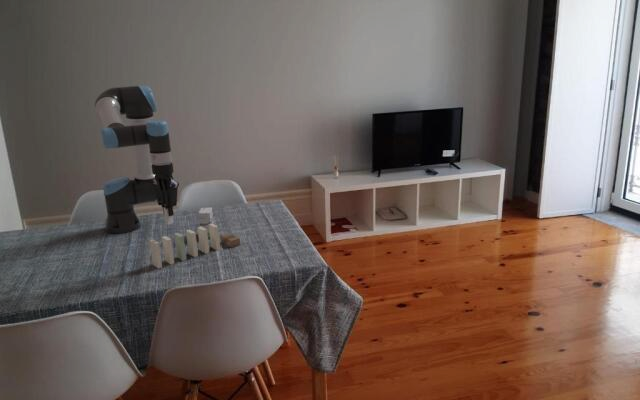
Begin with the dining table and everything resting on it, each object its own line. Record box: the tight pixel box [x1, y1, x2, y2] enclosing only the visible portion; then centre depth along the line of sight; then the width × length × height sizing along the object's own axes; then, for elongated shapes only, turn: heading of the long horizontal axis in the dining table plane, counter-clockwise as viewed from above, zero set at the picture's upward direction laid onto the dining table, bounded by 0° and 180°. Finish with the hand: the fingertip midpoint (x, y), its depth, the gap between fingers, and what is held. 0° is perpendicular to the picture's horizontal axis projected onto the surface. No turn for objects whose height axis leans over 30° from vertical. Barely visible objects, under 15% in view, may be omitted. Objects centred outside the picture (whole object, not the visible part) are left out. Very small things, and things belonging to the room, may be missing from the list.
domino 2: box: [161, 235, 175, 265], centre depth 194 cm, size 2×5×10 cm, turn 40°
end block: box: [219, 232, 241, 249], centre depth 211 cm, size 9×4×3 cm, turn 40°
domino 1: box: [149, 238, 163, 269], centre depth 191 cm, size 2×5×10 cm, turn 40°
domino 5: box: [197, 226, 210, 255], centre depth 203 cm, size 2×5×10 cm, turn 40°
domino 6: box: [209, 224, 221, 251], centre depth 206 cm, size 2×5×10 cm, turn 40°
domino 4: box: [185, 229, 199, 258], centre depth 200 cm, size 2×5×10 cm, turn 40°
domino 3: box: [173, 232, 187, 261], centre depth 197 cm, size 2×5×10 cm, turn 40°
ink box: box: [198, 207, 215, 239], centre depth 220 cm, size 9×5×12 cm, turn 5°
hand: (169, 223), depth 192 cm, fingers closed
